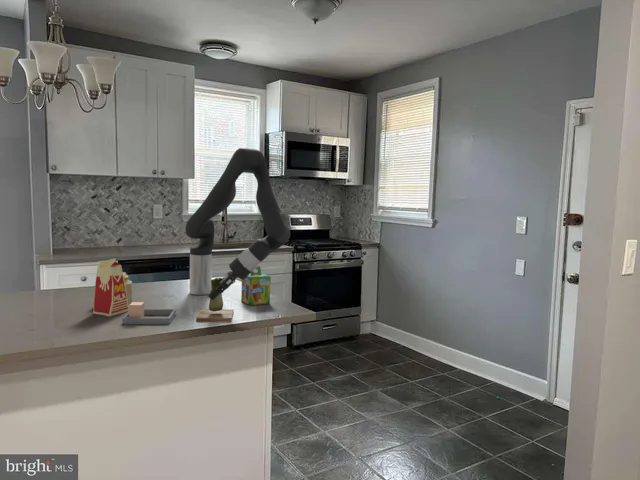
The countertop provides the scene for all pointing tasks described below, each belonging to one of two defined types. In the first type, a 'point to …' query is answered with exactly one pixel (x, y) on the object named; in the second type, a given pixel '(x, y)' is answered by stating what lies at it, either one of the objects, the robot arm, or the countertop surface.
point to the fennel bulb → (218, 301)
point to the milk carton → (110, 289)
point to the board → (215, 315)
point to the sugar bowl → (128, 288)
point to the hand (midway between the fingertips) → (211, 296)
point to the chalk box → (256, 288)
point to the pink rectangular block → (136, 310)
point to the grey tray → (151, 320)
